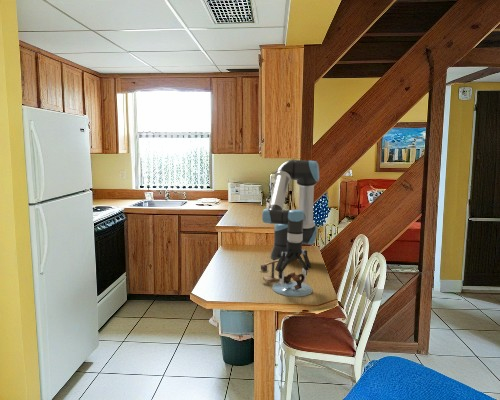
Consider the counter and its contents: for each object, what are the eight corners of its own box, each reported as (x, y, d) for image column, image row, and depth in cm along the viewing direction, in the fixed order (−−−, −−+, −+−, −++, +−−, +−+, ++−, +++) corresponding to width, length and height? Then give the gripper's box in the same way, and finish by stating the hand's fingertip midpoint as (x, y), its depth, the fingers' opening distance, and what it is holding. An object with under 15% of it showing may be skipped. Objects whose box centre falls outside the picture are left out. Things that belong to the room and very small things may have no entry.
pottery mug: (292, 293, 197) (285, 277, 198) (283, 295, 205) (276, 279, 206) (311, 283, 203) (304, 267, 204) (301, 285, 211) (295, 270, 212)
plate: (299, 280, 219) (299, 279, 219) (320, 293, 201) (320, 292, 201) (265, 284, 211) (265, 283, 211) (284, 298, 193) (284, 297, 193)
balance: (283, 276, 224) (284, 256, 223) (287, 279, 220) (288, 259, 218) (257, 279, 218) (257, 259, 216) (261, 282, 213) (262, 261, 212)
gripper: (311, 237, 210) (309, 278, 213) (269, 240, 201) (267, 283, 204) (319, 241, 204) (317, 282, 207) (276, 244, 194) (274, 288, 197)
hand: (292, 283), depth 205 cm, fingers closed on pottery mug, 12 cm apart
